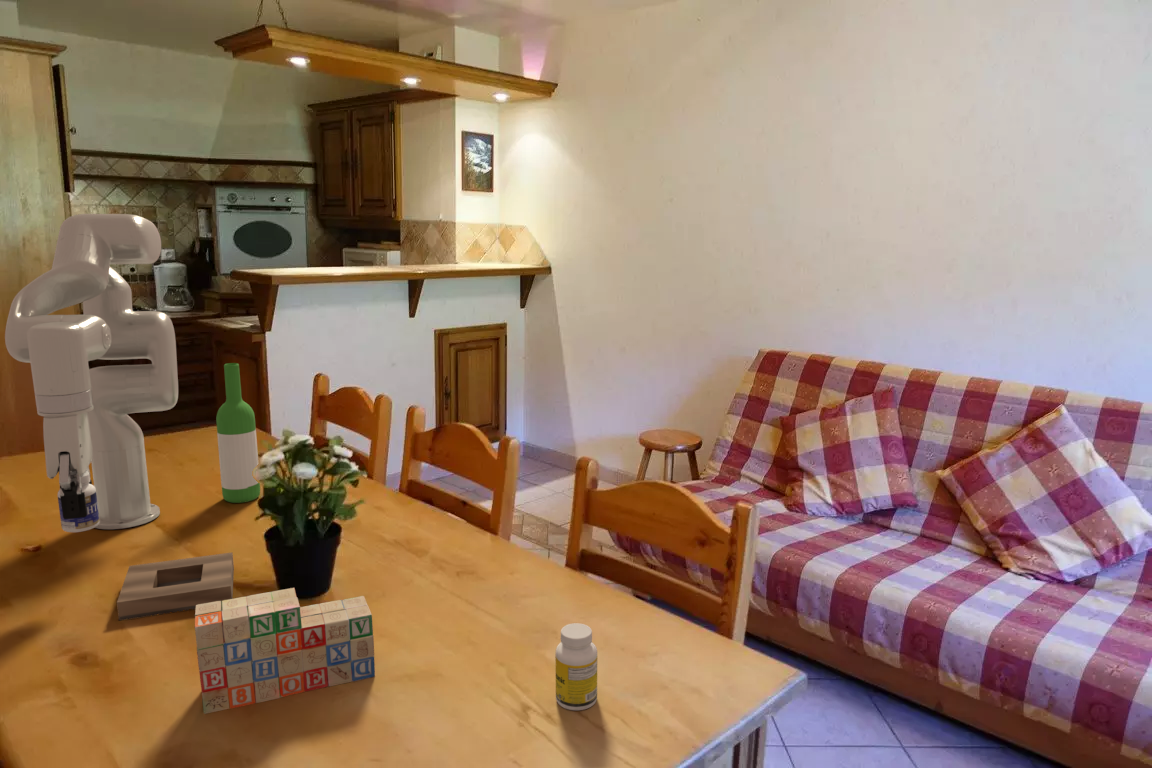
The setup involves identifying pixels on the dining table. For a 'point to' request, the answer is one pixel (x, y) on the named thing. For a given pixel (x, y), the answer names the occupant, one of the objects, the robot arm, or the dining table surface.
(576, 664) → the supplement bottle
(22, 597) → the dining table surface
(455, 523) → the dining table surface
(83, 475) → the pill bottle
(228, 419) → the wine bottle
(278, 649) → the stack of blocks
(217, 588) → the holder block
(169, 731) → the dining table surface
